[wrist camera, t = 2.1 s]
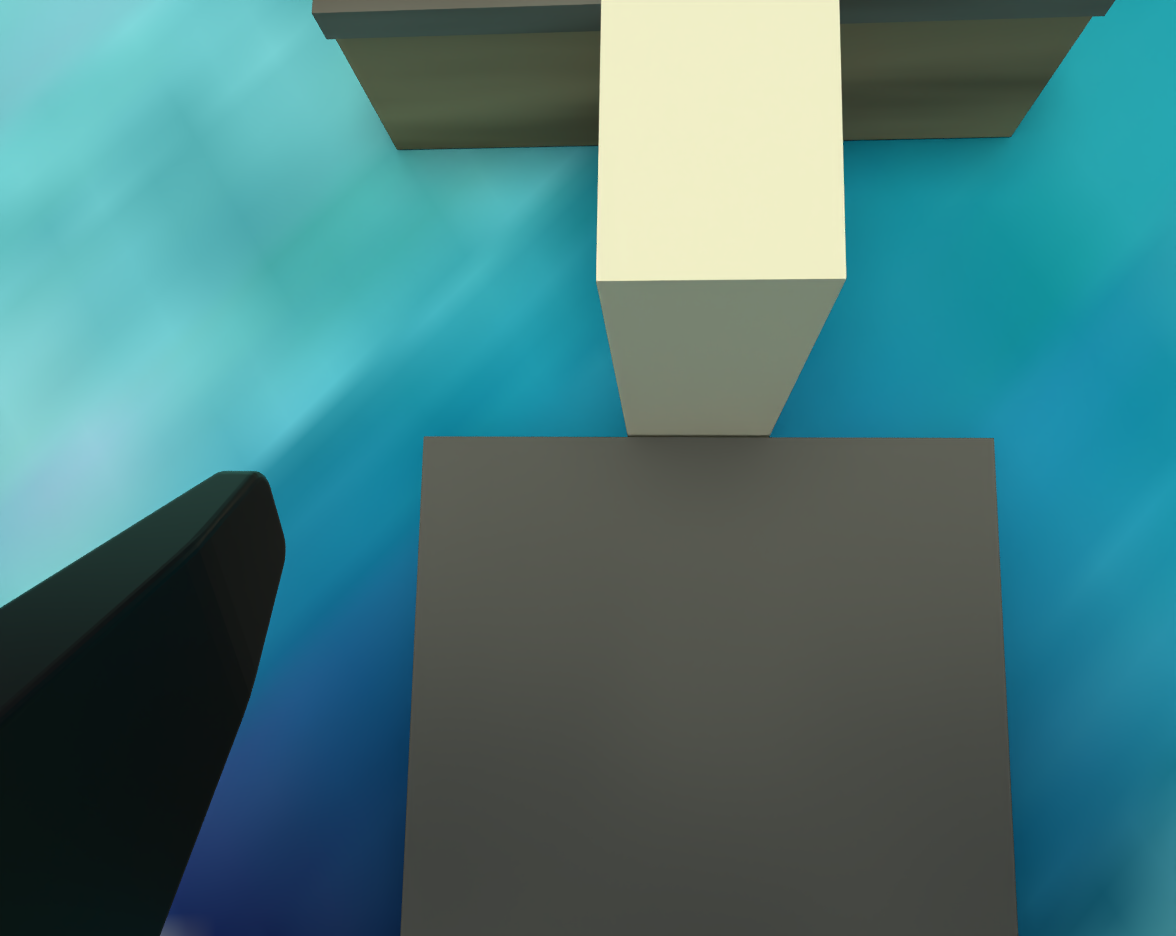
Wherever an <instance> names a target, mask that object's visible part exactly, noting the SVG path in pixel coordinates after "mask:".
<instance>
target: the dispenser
mask: <svg viewBox="0 0 1176 936" xmlns="http://www.w3.org/2000/svg"><path fill="white" fill-rule="evenodd" d="M1114 1H1115V0H839V10H840V50H841V90H842V130H843V140H875V139H923V138H971V137H1011V136H1012V134H1013V133H1014V131H1015V130H1016V128H1017V127H1018V125H1019V124H1020V122H1021V121H1022V120H1023V118H1024V117H1025V115H1026V114H1027V112H1028V111H1029V109H1030V108H1031V106H1032V105H1033V103H1034V102H1035V100H1036V99H1037V97H1038V96H1039V94H1040V93H1041V91H1042V90H1043V89H1044V87H1045V86H1046V84H1047V83H1048V81H1049V80H1050V78H1051V77H1052V75H1053V74H1054V72H1055V71H1056V69H1057V68H1058V66H1059V65H1060V63H1061V62H1062V60H1063V59H1064V58H1065V56H1066V55H1067V53H1068V52H1069V50H1070V49H1071V47H1072V46H1073V44H1074V43H1075V41H1076V40H1077V38H1078V37H1079V35H1080V34H1081V32H1082V31H1083V29H1084V28H1085V27H1086V25H1087V24H1088V22H1089V21H1090V19H1091V18H1092V16H1105V14H1106V13H1107V11H1108V10H1109V8H1110V7H1111V6H1112V4H1113V3H1114ZM312 14H313V16H314V18H315V20H316V21H317V23H318V25H319V27H320V28H321V30H322V32H323V34H324V35H325V37H326V39H336V41H337V42H338V44H339V46H340V48H341V50H342V51H343V53H344V55H345V57H346V59H347V60H348V62H349V64H350V66H351V68H352V69H353V71H354V73H355V75H356V77H357V78H358V80H359V82H360V84H361V86H362V87H363V89H364V91H365V93H366V95H367V96H368V98H369V100H370V102H371V104H372V105H373V107H374V109H375V111H376V113H377V114H378V116H379V118H380V120H381V122H382V123H383V125H384V127H385V129H386V131H387V132H388V134H389V136H390V138H391V140H392V141H393V143H394V145H395V147H396V149H442V148H490V147H538V146H586V145H599V100H600V45H601V0H313V4H312Z"/></svg>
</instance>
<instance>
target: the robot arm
mask: <svg viewBox="0 0 1176 936" xmlns="http://www.w3.org/2000/svg"><path fill="white" fill-rule="evenodd" d="M284 561H285V538H284V534H283V531H282V527H281V523H280V520H279V516H278V513H277V509H276V506H275V502H274V499H273V495H272V492H271V488H270V485H269V483H268V480H267V479H266V477H265V476H264V475H263V474H261V473H260V472H257V471H222V472H218V473H216V474H214V475H213V476H211V477H210V478H208V479H206V480H205V481H203V482H202V483H200V484H198V485H197V486H195V487H194V488H192V489H190V490H189V491H187V492H186V493H184V494H182V495H181V496H179V497H177V498H176V499H174V500H173V501H171V502H169V503H168V504H166V505H165V506H163V507H161V508H160V509H158V510H157V511H155V512H153V513H152V514H150V515H149V516H147V517H145V518H144V519H142V520H141V521H139V522H137V523H136V524H134V525H133V526H131V527H129V528H128V529H126V530H125V531H123V532H121V533H120V534H118V535H117V536H115V537H113V538H112V539H110V540H109V541H107V542H105V543H104V544H102V545H100V546H99V547H97V548H96V549H94V550H92V551H91V552H89V553H88V554H86V555H84V556H83V557H81V558H80V559H78V560H76V561H75V562H73V563H72V564H70V565H68V566H67V567H65V568H64V569H62V570H60V571H59V572H57V573H56V574H54V575H52V576H51V577H49V578H48V579H46V580H44V581H43V582H41V583H40V584H38V585H36V586H35V587H33V588H32V589H30V590H28V591H27V592H25V593H23V594H22V595H20V596H19V597H17V598H15V599H14V600H12V601H11V602H9V603H7V604H6V605H4V606H3V607H1V608H0V936H160V934H161V931H162V929H163V926H164V923H165V921H166V918H167V915H168V913H169V910H170V908H171V905H172V902H173V900H174V897H175V894H176V892H177V889H178V887H179V884H180V881H181V879H182V876H183V873H184V871H185V868H186V866H187V863H188V860H189V858H190V855H191V852H192V850H193V847H194V845H195V842H196V839H197V837H198V834H199V831H200V829H201V826H202V823H203V821H204V818H205V816H206V813H207V810H208V808H209V805H210V802H211V800H212V797H213V795H214V792H215V789H216V787H217V784H218V781H219V779H220V776H221V774H222V771H223V768H224V766H225V763H226V760H227V758H228V755H229V753H230V750H231V747H232V745H233V742H234V739H235V737H236V734H237V732H238V729H239V726H240V724H241V721H242V718H243V716H244V713H245V710H246V707H247V704H248V701H249V698H250V695H251V692H252V688H253V685H254V681H255V678H256V674H257V670H258V666H259V662H260V658H261V654H262V650H263V646H264V642H265V638H266V634H267V630H268V626H269V622H270V618H271V614H272V610H273V606H274V602H275V598H276V594H277V590H278V586H279V582H280V578H281V574H282V570H283V566H284Z"/></svg>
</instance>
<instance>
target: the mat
mask: <svg viewBox="0 0 1176 936" xmlns="http://www.w3.org/2000/svg"><path fill="white" fill-rule="evenodd" d="M401 936H1018V923H1017V902H1016V882H1015V862H1014V841H1013V821H1012V801H1011V780H1010V760H1009V739H1008V719H1007V699H1006V678H1005V658H1004V638H1003V617H1002V597H1001V577H1000V556H999V536H998V515H997V495H996V475H995V454H994V438H746V437H424V444H423V466H422V487H421V508H420V530H419V551H418V573H417V594H416V615H415V637H414V658H413V680H412V701H411V722H410V744H409V765H408V787H407V808H406V829H405V851H404V872H403V894H402V915H401Z"/></svg>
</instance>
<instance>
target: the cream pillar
mask: <svg viewBox="0 0 1176 936" xmlns="http://www.w3.org/2000/svg"><path fill="white" fill-rule="evenodd" d="M845 280H846V251H845V210H844V170H843V130H842V90H841V50H840V10H839V0H601V45H600V100H599V155H598V210H597V265H596V283H597V287H598V292H599V297H600V302H601V307H602V312H603V317H604V322H605V327H606V331H607V336H608V341H609V346H610V351H611V356H612V361H613V366H614V371H615V375H616V380H617V385H618V390H619V395H620V400H621V405H622V410H623V415H624V419H625V424H626V429H627V434H628V437H746V438H769V436H770V434H771V432H772V430H773V428H774V425H775V423H776V421H777V419H778V417H779V415H780V413H781V411H782V409H783V407H784V405H785V403H786V401H787V399H788V397H789V395H790V393H791V391H792V389H793V387H794V385H795V382H796V380H797V378H798V376H799V374H800V372H801V370H802V368H803V366H804V364H805V362H806V360H807V358H808V356H809V354H810V352H811V350H812V348H813V346H814V344H815V341H816V339H817V337H818V335H819V333H820V331H821V329H822V327H823V325H824V323H825V321H826V319H827V317H828V315H829V313H830V311H831V309H832V307H833V305H834V303H835V301H836V298H837V296H838V294H839V292H840V290H841V288H842V286H843V284H844V282H845Z"/></svg>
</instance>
